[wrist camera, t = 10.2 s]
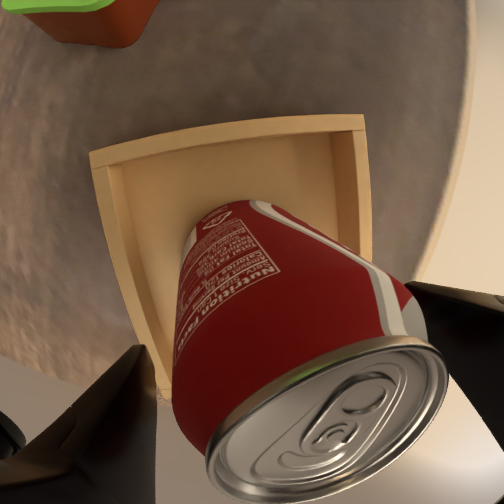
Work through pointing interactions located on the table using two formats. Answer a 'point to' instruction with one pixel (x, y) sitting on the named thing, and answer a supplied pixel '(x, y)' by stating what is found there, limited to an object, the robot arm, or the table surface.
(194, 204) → the tray
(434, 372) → the soda can
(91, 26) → the planter
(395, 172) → the table surface
